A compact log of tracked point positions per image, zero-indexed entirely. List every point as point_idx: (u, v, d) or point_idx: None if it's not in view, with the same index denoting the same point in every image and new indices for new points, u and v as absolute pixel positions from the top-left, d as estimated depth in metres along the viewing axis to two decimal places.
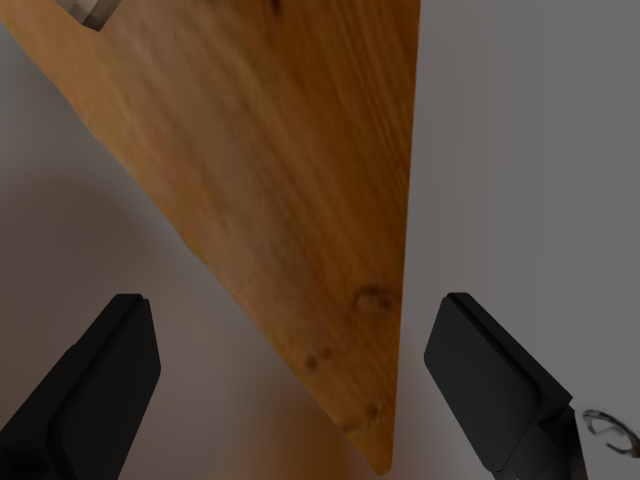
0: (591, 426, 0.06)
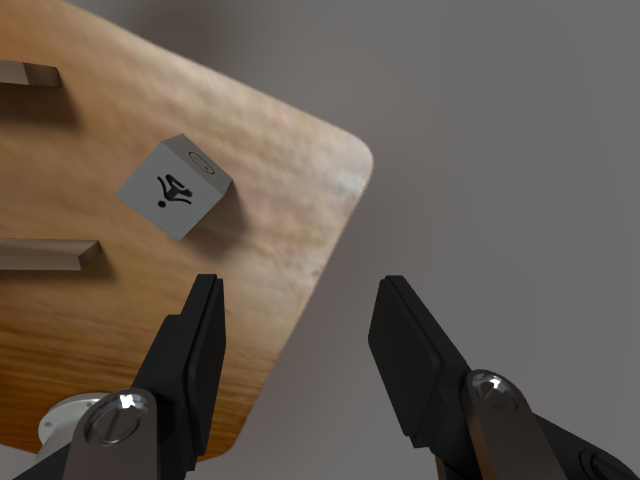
0: (480, 391, 0.06)
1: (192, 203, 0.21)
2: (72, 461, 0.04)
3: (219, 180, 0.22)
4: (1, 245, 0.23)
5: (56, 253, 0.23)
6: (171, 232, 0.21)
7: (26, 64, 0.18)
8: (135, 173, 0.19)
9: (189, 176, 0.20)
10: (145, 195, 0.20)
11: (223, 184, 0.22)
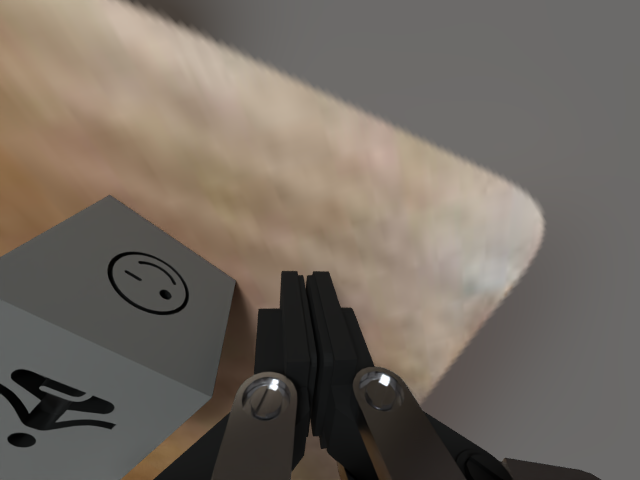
0: (367, 395, 0.06)
1: (118, 425, 0.07)
2: (247, 432, 0.05)
3: (201, 321, 0.08)
4: None
5: None
6: None
7: None
8: None
9: (95, 366, 0.06)
10: None
11: (212, 330, 0.08)
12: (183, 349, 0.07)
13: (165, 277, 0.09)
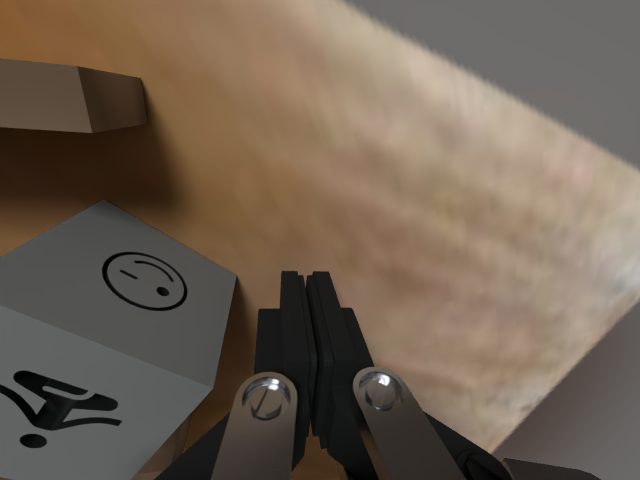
0: (367, 395, 0.06)
1: (124, 421, 0.07)
2: (247, 432, 0.05)
3: (201, 315, 0.08)
4: None
5: None
6: None
7: (86, 72, 0.06)
8: None
9: (93, 363, 0.06)
10: None
11: (213, 323, 0.08)
12: (182, 343, 0.07)
13: (162, 275, 0.09)
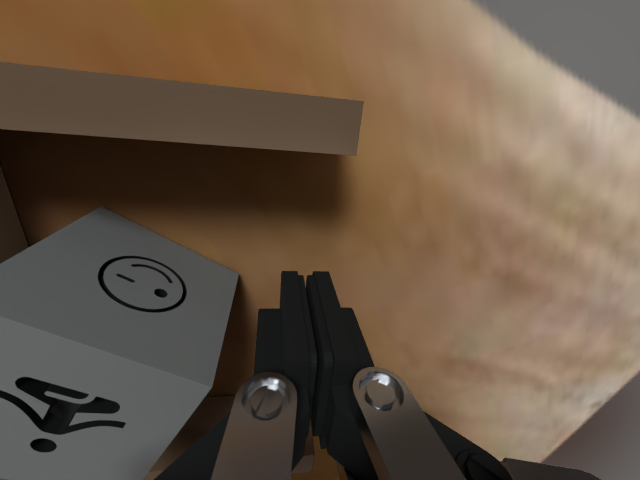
0: (367, 395, 0.06)
1: (128, 423, 0.07)
2: (247, 432, 0.05)
3: (200, 315, 0.08)
4: None
5: None
6: None
7: None
8: None
9: (90, 367, 0.06)
10: None
11: (213, 322, 0.08)
12: (180, 343, 0.07)
13: (160, 277, 0.09)
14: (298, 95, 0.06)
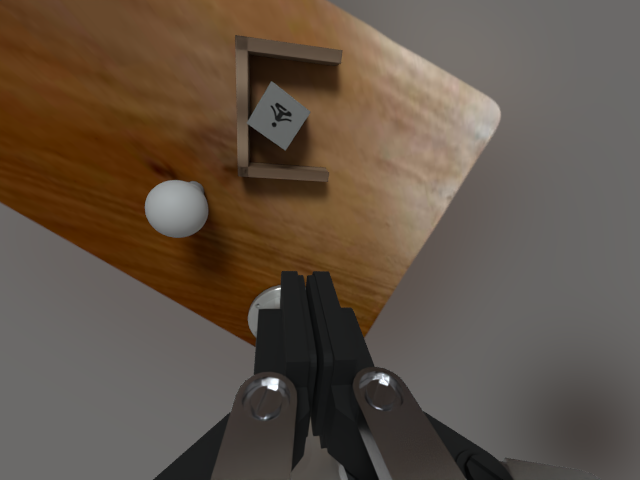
0: (367, 395, 0.06)
1: (292, 121, 0.32)
2: (247, 432, 0.05)
3: None
4: (278, 166, 0.38)
5: (314, 170, 0.37)
6: (280, 144, 0.33)
7: (341, 51, 0.32)
8: (257, 105, 0.31)
9: (289, 102, 0.31)
10: (264, 120, 0.32)
11: None
12: None
13: None
14: (328, 48, 0.31)
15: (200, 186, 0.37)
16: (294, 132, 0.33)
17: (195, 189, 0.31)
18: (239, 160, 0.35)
